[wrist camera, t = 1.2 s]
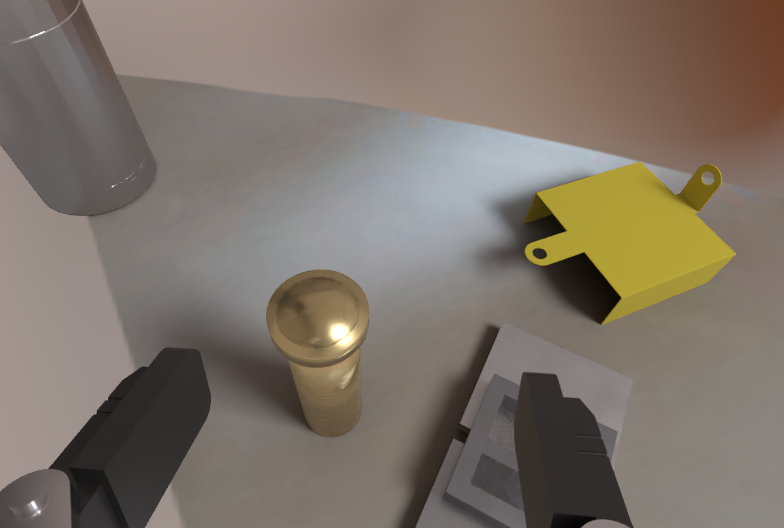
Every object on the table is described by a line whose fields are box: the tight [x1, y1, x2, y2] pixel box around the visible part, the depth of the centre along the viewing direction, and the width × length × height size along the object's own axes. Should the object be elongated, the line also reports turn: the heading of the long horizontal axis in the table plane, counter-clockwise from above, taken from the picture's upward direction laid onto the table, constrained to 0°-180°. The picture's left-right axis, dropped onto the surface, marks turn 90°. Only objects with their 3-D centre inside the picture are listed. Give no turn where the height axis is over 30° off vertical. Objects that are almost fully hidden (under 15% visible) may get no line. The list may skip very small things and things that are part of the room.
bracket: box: [524, 162, 736, 325], centre depth 36 cm, size 16×8×15 cm
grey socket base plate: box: [415, 322, 633, 528], centre depth 28 cm, size 9×17×2 cm, turn 153°
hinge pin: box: [266, 270, 369, 437], centre depth 26 cm, size 4×4×12 cm
